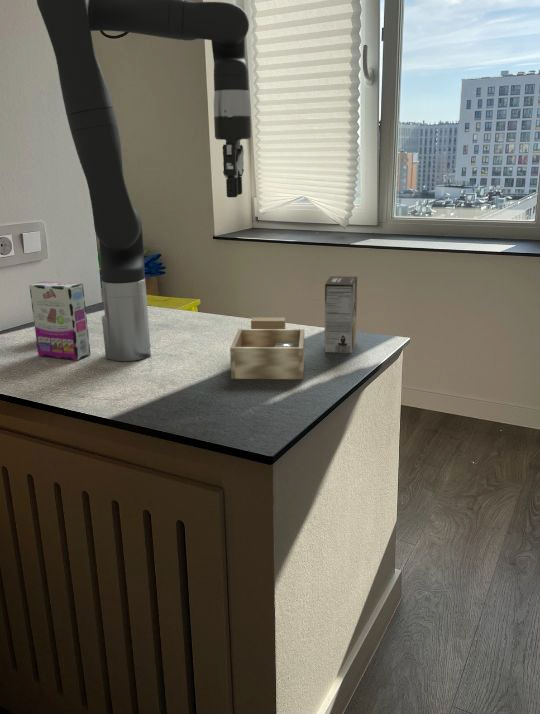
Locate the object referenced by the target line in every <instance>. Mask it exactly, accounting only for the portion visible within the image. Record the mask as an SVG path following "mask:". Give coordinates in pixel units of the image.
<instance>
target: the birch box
mask: <svg viewBox="0 0 540 714" xmlns="http://www.w3.org/2000/svg"><path fill="white" fill-rule="evenodd" d="M234 336H235V337H234V338H233V341H232V343H231V346H230V348H229V352H230V353H229V354H230V355H229V356H230V357H229V358H230V375H231V378H230V379H232V380H304V373H305V372H304V368H305V329H304V328H295V329H293V328H285V329H251V328H238V329H237V331H236V335H234ZM279 342H291V343H294V347H275V344H276V343H279Z"/></svg>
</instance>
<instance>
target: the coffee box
mask: <svg viewBox="0 0 540 714" xmlns="http://www.w3.org/2000/svg"><path fill="white" fill-rule="evenodd" d="M357 292H358V276H340V275H339V276H329V277H328V279H327V281H326V282H325V284H324V352H325V353H345V354H353V352H354V349H355V348H356V343H357V305H358V303H357V302H358V301H357V300H358V293H357Z"/></svg>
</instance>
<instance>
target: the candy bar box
mask: <svg viewBox="0 0 540 714" xmlns="http://www.w3.org/2000/svg"><path fill="white" fill-rule="evenodd" d="M28 287H29V294H30V301H31V308H32V317H33V324H34V325H33V326H34V330H35V332H34V333H35V338H36V339H35V340H36V345H37V346H36V347H37V353H38V357H42V358H43V357H45V358H53V359H61V360H71V361H79V360H82V359H84V358H86V357H89V356H90V355H91V346H90V345H91V344H90V338H89V328H88V326H89V325H88V319H87V310H86V309H87V308H86V301H85V300H86V299H85V292H84V291H85V289H84V283H78V282H77V283H75V282H58V281H57V282H56V281H40V282H36V283H32V284H29V285H28Z"/></svg>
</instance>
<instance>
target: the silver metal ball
mask: <svg viewBox="0 0 540 714" xmlns="http://www.w3.org/2000/svg"><path fill="white" fill-rule="evenodd" d="M275 347H294V343H291V342H279V343H276V344H275Z"/></svg>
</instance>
